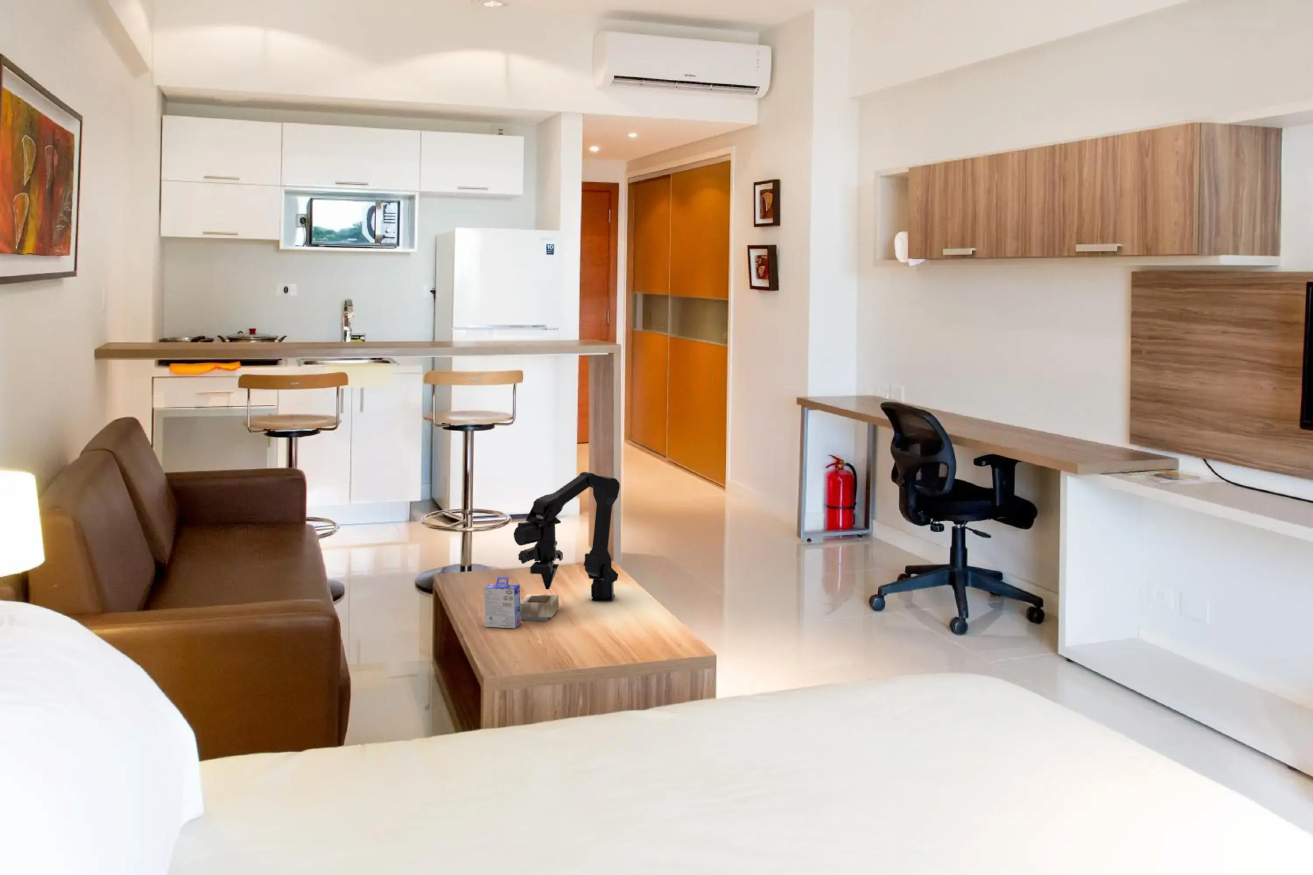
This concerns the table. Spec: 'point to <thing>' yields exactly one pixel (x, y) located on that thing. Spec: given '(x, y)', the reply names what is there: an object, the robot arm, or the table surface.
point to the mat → (534, 618)
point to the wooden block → (539, 605)
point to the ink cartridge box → (502, 604)
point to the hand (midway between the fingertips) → (547, 588)
